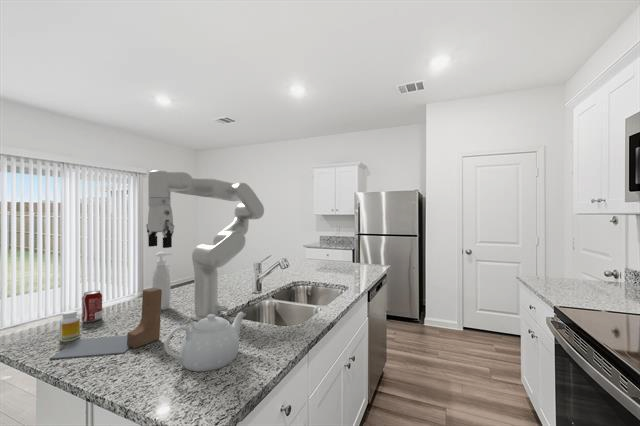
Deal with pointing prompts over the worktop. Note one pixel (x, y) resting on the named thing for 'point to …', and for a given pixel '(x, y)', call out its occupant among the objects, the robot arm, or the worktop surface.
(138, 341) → the wooden block
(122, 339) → the rubber mat
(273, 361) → the worktop surface
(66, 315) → the supplement bottle
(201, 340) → the teapot
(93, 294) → the soda can
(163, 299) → the soap bottle
